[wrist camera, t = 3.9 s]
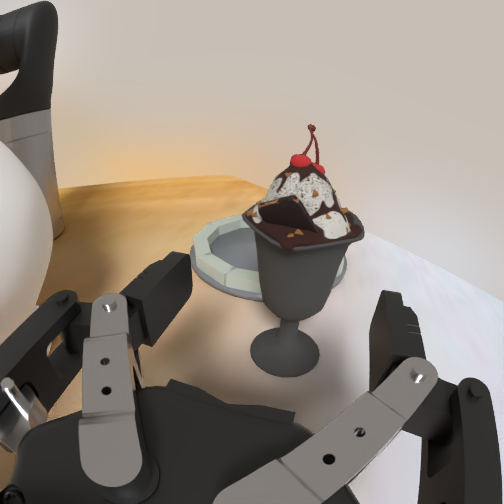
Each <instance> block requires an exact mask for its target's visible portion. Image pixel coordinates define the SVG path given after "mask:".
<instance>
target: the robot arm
mask: <svg viewBox="0 0 504 504" xmlns="http://www.w3.org/2000/svg"><path fill="white" fill-rule="evenodd" d="M57 34H58V15H57V11H56V8H55V7H54V5H53V4H52V3H50V2H48V1H41V2H37V3H34V4H31V5H28V6H26V7H22V8H20V9H17V10H14V11H12V12H9V13H6V14H4V15H0V74H5V73H9V72H12V71H15V70H18V69H19V72H18V75H17V77H16V79H15V80H14V81H13V83H12V84H11V85H10V87H9V88H7V90H5V92H3V93H2V94H1V95H0V141H1V142H2V143H3V144H5V145H6V146H7V147H8V148H9V149H10V150H11V151H12V152H13V153H14V154H15V156H16V157H17V158H18V159H19V160H20V161H21V162H22V163H23V165H24V166H25V167H26V168H27V169H28V171H29V172H30V173H31V175H32V176H33V177H34V179H35V180H36V182H37V183H38V185H39V187H40V189H41V191H42V193H43V195H44V197H45V200H46V203H47V206H48V209H49V213H50V217H51V222H52V230H53V239H54V238H56V237H57V236H58V235H60V234H61V233H62V232H63V230H64V222H63V216H62V212H61V206H60V199H59V193H58V186H57V179H56V172H55V163H54V153H53V141H52V128H51V109H50V108H51V94H52V86H53V69H54V58H55V50H56V43H57ZM192 286H193V284H192V270H191V258H190V255H189V254H184V253H179V252H174V251H172V252H171V253H169V254H168V255H167V256H166V257H165V258H164V259H163V260H159V261H157V262H155V263H153V264H151V265H149V266H148V267H147V268H146V269H145V270H144V271H143V273H142V272H141V273H140V274H139V275H138V276H137V278H135V279H134V280H133V281H132V282H131V283H130V284H129V285H128V286H126V287H125V288H124V289H123V290H122V291H121V292H120V293H119V294H118V293H109V294H105V295H102V296H100V297H98V298H97V299H96V300H95V301H94V302H93V303H83V302H79V300H78V297H77V294H76V293H75V292H74V291H71V290H63V291H59V292H57V293H55V294H53V295H52V296H51V297H50V298H49V299H47V300H46V301H45V302H44V303H43V304H42V305H41V306H40V307H39V308H38V309H37V310H36V311H34V312H33V313H32V314H31V315H30V316H29V317H28V318H27V319H26V320H25V321H24V322H23V323H22V324H21V325H20V326H19V327H18V328H17V329H16V330H15V331H14V332H13V333H12V334H11V335H10V336H9V337H8V338H7V339H6V340H5V341H4V342H3V343H2V344H1V345H0V446H2V447H3V448H4V449H5V450H6V451H8V452H11V453H15V454H16V459H15V465H14V469H13V473H12V476H11V479H10V481H9V483H8V485H7V487H6V488H5V489H4V490H3V491H2V492H0V504H360V503H359V502H358V500H357V498H356V497H355V495H354V494H353V492H352V491H351V489H350V487H349V486H348V485H349V484H350V483H351V482H352V481H353V480H354V479H355V478H356V477H357V476H359V475H360V474H361V473H362V472H363V471H364V470H365V469H366V468H367V467H368V466H369V465H370V464H371V463H372V462H373V461H374V459H375V458H376V457H377V456H378V455H379V454H380V453H381V452H382V451H383V450H384V449H385V448H386V447H387V446H388V445H389V444H390V443H391V441H392V440H393V439H394V438H395V437H396V436H397V435H398V434H399V432H400V431H401V430H404V431H406V432H409V433H411V434H414V435H417V436H420V437H422V449H421V470H420V484H419V494H418V504H502V475H501V462H500V452H499V443H498V435H497V429H496V422H495V416H494V411H493V405H492V400H491V396H490V392H489V390H488V388H487V386H486V385H485V384H484V383H483V382H482V381H480V380H478V379H476V378H465V379H463V380H462V381H461V382H460V383H459V385H458V386H457V385H455V384H452V383H449V382H447V381H444V380H442V379H440V378H438V373H437V370H436V368H435V367H434V366H433V365H432V364H431V363H430V362H429V361H427V360H426V356H425V351H424V346H423V341H422V336H421V335H420V333H421V332H420V327H419V323H418V318H417V315H416V314H415V313H414V311H413V310H412V309H411V307H406V306H403V301H402V296H401V293H398V292H392V291H386V290H382V292H381V294H380V297H379V301H378V304H377V307H376V310H375V313H374V316H373V318H372V322H371V326H370V332H369V350H370V378H369V391H367V392H366V393H364V394H363V395H362V396H361V397H360V398H359V399H357V400H356V401H355V402H354V403H353V404H352V405H351V406H349V407H348V408H347V409H346V410H345V411H343V412H342V413H341V414H340V415H339V416H337V417H336V418H335V419H334V420H333V421H331V422H330V423H329V424H328V425H326V426H325V427H324V428H322V429H321V430H320V431H319V432H317V433H316V434H315V435H314V434H313V433H312V432H311V431H309V430H308V429H307V428H305V427H303V426H302V425H300V424H298V423H296V422H293V420H294V416H295V412H290V411H285V410H280V409H276V408H271V407H267V406H260V405H235V404H227V403H225V402H223V401H221V400H219V399H217V398H215V397H214V396H212V395H210V394H208V393H207V392H205V391H203V390H201V389H200V388H197V387H194V386H191V385H188V384H185V383H182V382H179V381H176V380H173V379H170V381H169V383H168V384H167V386H166V387H164V386H153V387H145V383H144V377H143V370H142V364H141V357H140V351H139V347H140V345H141V344H145V345H148V346H150V347H153V345H154V344H155V343H156V341H157V340H158V339H159V337H160V336H161V335H162V333H163V332H164V331H165V329H166V328H167V327H168V325H169V324H170V323H171V321H172V320H173V319H174V318H175V316H176V315H177V314H178V312H179V311H180V310H181V308H182V307H183V306H184V304H185V303H186V302H187V301H188V299H189V298H190V296H191V293H192ZM58 334H59V335H60V337H61V339H62V343H61V344H60V345H59V346H58V347H57V348H56V350H55V351H54V352H53V353H52V354H51V355H50V356H49V358H48V356H47V348H48V346H49V344H50V343H51V342H52V341H53V340H54V339H55V338H56V337H57V336H58ZM81 368H82V410H81V411H78V412H76V413H73V414H70V415H67V416H64V417H61V418H58V419H55V420H52V421H49V422H46V421H47V413H48V412H49V411H50V409H51V408H52V407H53V405H54V404H55V402H56V401H57V400H58V398H59V397H60V396H61V394H62V393H63V392H64V390H65V389H66V388H67V386H68V385H69V384H70V382H71V381H72V380H73V378H74V377H75V376H76V375H77V373H78V372H79V371H80V369H81Z"/></svg>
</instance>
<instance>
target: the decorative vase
mask: <svg viewBox="0 0 504 504" xmlns="http://www.w3.org/2000/svg"><path fill="white" fill-rule="evenodd" d="M52 245H53V230H52V222H51V217H50V213H49V209H48V206H47V203H46V200H45V197H44V195H43V193H42V191H41V189H40V187H39V185H38V183H37V182H36V180H35V179H34V177H33V176H32V175H31V173H30V172H29V171H28V169H27V168H26V167H25V166H24V165H23V163H22V162H21V161H20V160H19V159H18V158H17V157H16V156H15V154H14V153H13V152H12V151H11V150H10V149H9V148H8V147H7V146H6V145H5V144H3V143H2V142H1V141H0V345H1V344H2V343H3V342H4V341H5V340H6V339H7V338H8V337H9V336H10V335H11V334H12V333H13V332H14V331H15V330H16V329H17V328H18V327H19V326H20V325H21V324H22V323H23V322H24V321H25V320H26V319H27V318H28V317H29V316H30V315H31V314H32V313H33V312H34V311H36V310H37V309H38V308H39V306H37V305H36V302H37V300H38V297H39V294H40V291H41V288H42V285H43V282H44V279H45V276H46V273H47V269H48V266H49V262H50V258H51V253H52ZM51 345H52V342H51V343H50V344H49V346H48V348H47V356H48V355H49V352H50V349H51Z"/></svg>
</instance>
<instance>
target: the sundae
mask: <svg viewBox="0 0 504 504" xmlns="http://www.w3.org/2000/svg"><path fill="white" fill-rule="evenodd" d="M308 129H309V130H310V133H311V141H310V143H309V145H308V147H307V148H306V150H305V151H304V152H303V154H298V155H297V154H296V155H293V156H292V157H291V161H290V166H289V167H288V168H287V169H285V170H284V171H283V172H281V173H280V174H279V175H277V176H276V177H275V179H274V180H273V182H272V184H271V185H270V188H269V190H268V193H267V196H266V197H265V198H264V199H262V200H261V201H259V202H257V203H256V204H255V205H253V206H252V207H251V208H249V209H248V210H247V211H246V212H244V213H243V214H242V218H243V221H244V222H245V223H246V224H247V225H248V226H249V227H250V228H252V229H253V230H254V235H255V242H256V249H257V260H258V272H259V283H260V288H261V293H262V299H263V302H264V303H265V305H266V306H267V307H268V308H269V309H270V310H271V311H272V312H273V313H274V314H275V315H277V316H278V317H279V318H281V325H280V328H274V329H270V330H266V331H264V332H262V333H260V334H259V335H258V336H256V338H255V339H254V340H253V342H252V344H251V349H250V351H251V357H252V359H253V361H254V362H255V363H256V365H257V366H258V367H260V368H261V369H262V370H264V371H265V372H267V373H270V374H272V375H276V376H280V377H296V376H299V375H303V374H305V373H307V372H309V371H310V370H311V369H313V368H314V367H315V365H316V364H317V362H318V360H319V355H320V354H319V349H318V346H317V344H316V343H315V342H314V340H313V339H312V338H311V337H310V336H308V335H307V334H305V333H304V332H302V331H300V330H298V325H299V321H300V320H304V319H307V318H309V317H311V316H313V315H315V314H316V313H318V312H319V311H321V310H322V308H323V307H324V305H325V303H326V300H327V298H328V296H329V294H330V292H331V289H332V286H333V284H334V281H335V278H336V275H337V272H338V269H339V266H340V264H341V262H342V259H343V257H344V255H345V253H346V251H347V248H348V246H349V245H350V244H351V243H353V242H356V241H359V240H362V239H363V238H364V227H363V225H362V223H361V221H360V220H359V219H358V217H357V216H356V215H355V214H353V213H352V212H350V211H349V210H348V209H347V208H341V205H340V202H339V199H338V198H337V196H336V194H335V192H336V191H335V190H334V189H333V188H332V186H331V184H330V182H329V180H328V179H327V178H326V177H325V175H324V174H325V170H324V168H323V166H321V165H319V149H318V143H317V140H316V138H315V136H314V134H313V131H315V129H316V127H315V126H314V125H311V124H310V125H308ZM313 138H314V140H315V148H316V162H315V163H313V162H311V159H310V158H309V157H307V156H306V154H307V152H308V150H309V148H310V146H311V144H312V141H313Z"/></svg>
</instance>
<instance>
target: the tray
mask: <svg viewBox="0 0 504 504" xmlns="http://www.w3.org/2000/svg"><path fill="white" fill-rule="evenodd" d="M190 258H191V265H192V268H193V269H194V271H195V273H196V274H197V275H198V276H199V277H200V278H201V279H202V280H203V281H204V282H206V283H207V284H209V285H210V286H212V287H213V288H215V289H218V290H220V291H222V292H224V293H227V294H230V295H233V296H236V297H240V298H244V299H248V300H255V301H263V299H262V293H261V288H260V283H259V272H258V260H257V249H256V242H255V235H254V230H253V229H252V228H250V227H249V226H248V225H247V224H246V223H245V222H244V221H243V218H242V215H237V216H235V215H234V216H231V217H227V218H224V219H221V220H217V221H214V222H211V223H209V224H207V225H206V226H205V227H204V228H203V229H202V230H201V231H199V232H198V233H197V234H196V235H195V236H194V238H193V246H192V247H191V251H190ZM346 266H347V262H346V257H345V255H344V257H343V259H342V262H341V264H340V266H339V269H338V272H337V275H336V278H335V281H334V284H333V286H332V289H333V288H334V287H335V286H336V285H338V284H339V283H340V281H341V280H342V279H343V277H344V275H345V271H346Z"/></svg>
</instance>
